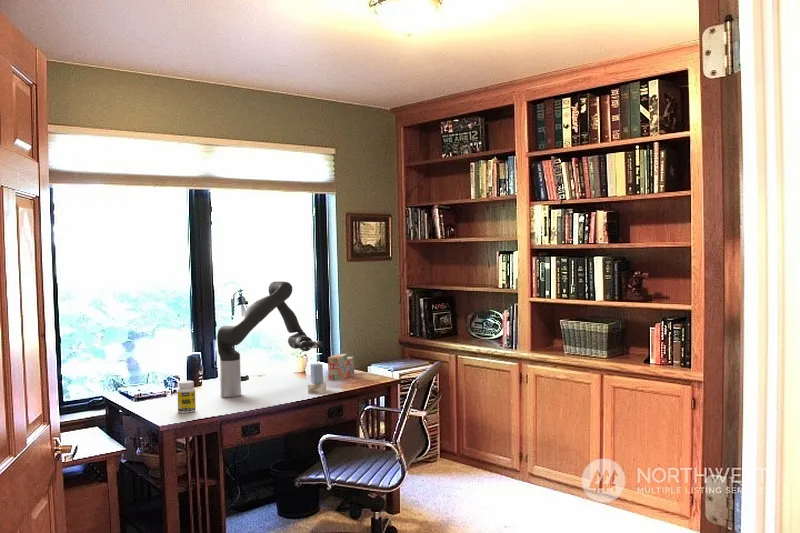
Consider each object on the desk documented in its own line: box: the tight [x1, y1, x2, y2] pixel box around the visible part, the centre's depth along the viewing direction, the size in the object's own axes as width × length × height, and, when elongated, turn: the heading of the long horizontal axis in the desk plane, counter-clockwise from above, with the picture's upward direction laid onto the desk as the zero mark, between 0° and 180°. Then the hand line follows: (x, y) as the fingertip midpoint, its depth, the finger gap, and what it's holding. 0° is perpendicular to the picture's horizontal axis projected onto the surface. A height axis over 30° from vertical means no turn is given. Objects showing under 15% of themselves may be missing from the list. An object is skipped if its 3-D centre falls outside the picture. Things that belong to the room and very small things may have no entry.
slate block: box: [310, 363, 324, 384], centre depth 315 cm, size 4×4×9 cm
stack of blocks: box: [327, 353, 355, 381], centre depth 352 cm, size 21×6×12 cm, turn 162°
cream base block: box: [307, 381, 327, 395], centre depth 315 cm, size 8×8×4 cm
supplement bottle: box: [177, 380, 196, 414], centre depth 281 cm, size 7×7×13 cm
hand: (310, 346), depth 325 cm, fingers open, 8 cm apart
